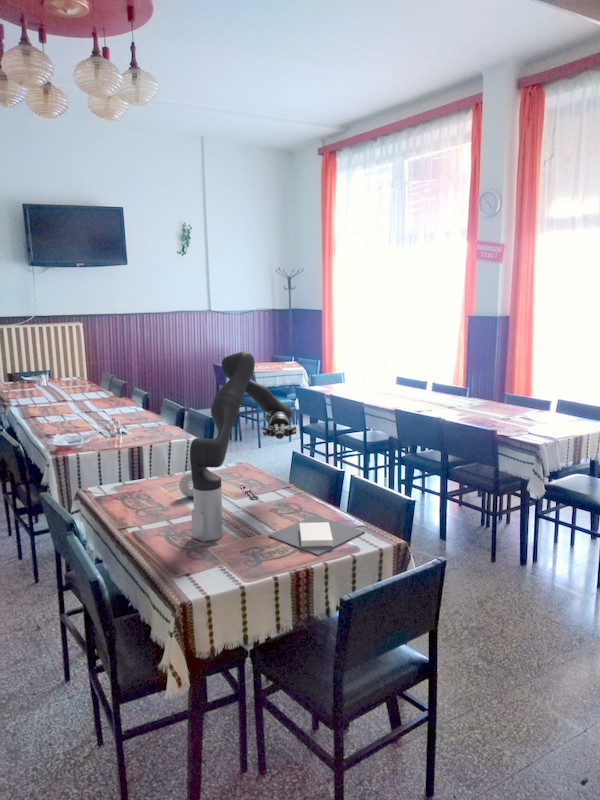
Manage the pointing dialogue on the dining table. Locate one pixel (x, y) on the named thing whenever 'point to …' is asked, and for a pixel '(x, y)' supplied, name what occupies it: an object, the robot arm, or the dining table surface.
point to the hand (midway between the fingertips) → (279, 436)
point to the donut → (186, 485)
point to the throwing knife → (251, 493)
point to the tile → (315, 534)
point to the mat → (338, 530)
